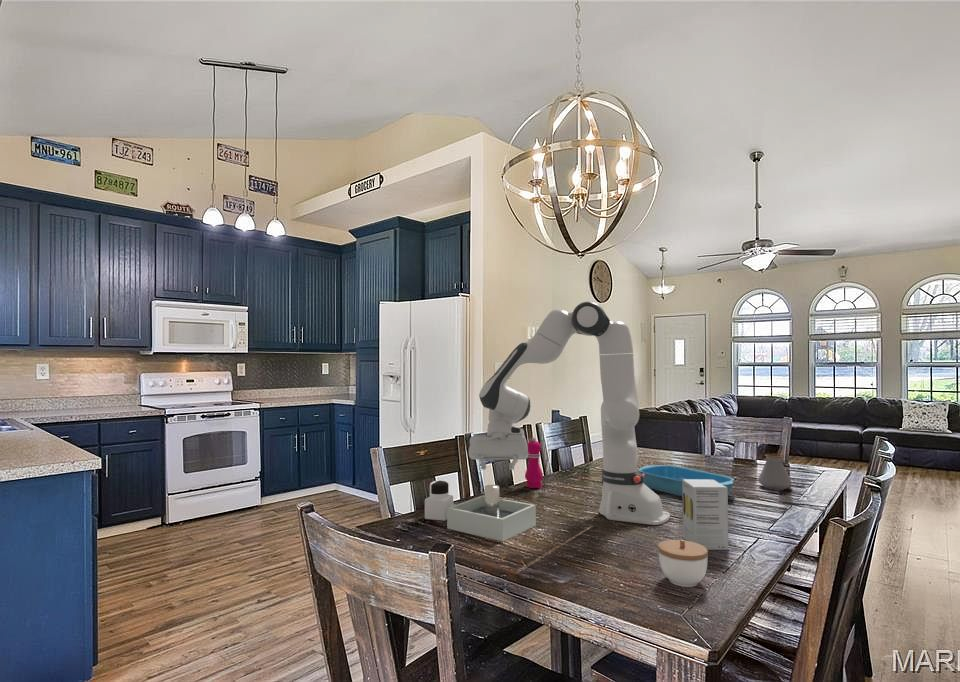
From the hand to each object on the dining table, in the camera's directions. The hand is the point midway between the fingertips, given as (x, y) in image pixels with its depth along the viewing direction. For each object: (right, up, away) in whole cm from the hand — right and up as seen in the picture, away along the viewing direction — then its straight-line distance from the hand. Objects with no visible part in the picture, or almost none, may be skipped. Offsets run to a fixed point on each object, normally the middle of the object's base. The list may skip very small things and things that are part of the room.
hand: (497, 468), depth 176 cm
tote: (-2, -14, -17) cm, 22 cm away
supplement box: (+56, -14, -30) cm, 65 cm away
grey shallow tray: (-2, -13, -17) cm, 21 cm away
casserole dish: (+74, -16, +30) cm, 81 cm away
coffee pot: (+114, -16, +37) cm, 121 cm away
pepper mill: (+16, -17, +37) cm, 44 cm away
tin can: (-2, -10, -16) cm, 20 cm away
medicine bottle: (-19, -15, -6) cm, 25 cm away
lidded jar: (+41, -13, -54) cm, 69 cm away
